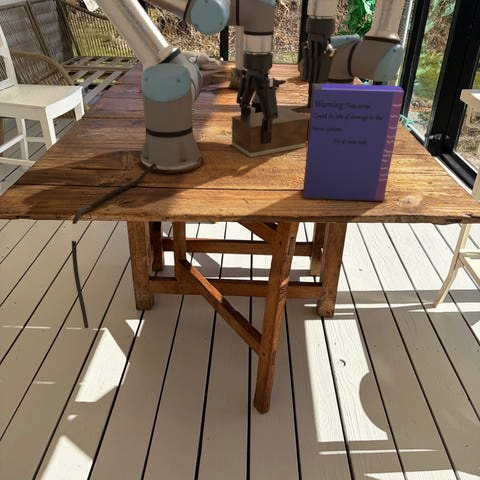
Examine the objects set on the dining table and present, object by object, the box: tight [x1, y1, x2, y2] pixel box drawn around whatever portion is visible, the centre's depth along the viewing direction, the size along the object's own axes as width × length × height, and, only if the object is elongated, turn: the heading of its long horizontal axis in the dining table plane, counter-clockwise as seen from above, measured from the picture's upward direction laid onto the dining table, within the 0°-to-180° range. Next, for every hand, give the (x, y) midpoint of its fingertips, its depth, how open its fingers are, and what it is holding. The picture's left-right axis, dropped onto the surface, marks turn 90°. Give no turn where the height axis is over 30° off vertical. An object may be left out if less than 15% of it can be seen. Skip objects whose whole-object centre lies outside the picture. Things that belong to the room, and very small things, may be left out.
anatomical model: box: [297, 58, 308, 82], centre depth 207 cm, size 13×9×15 cm
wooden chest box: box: [231, 108, 308, 158], centre depth 133 cm, size 18×11×8 cm, turn 119°
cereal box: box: [302, 84, 405, 202], centre depth 102 cm, size 17×5×24 cm, turn 86°
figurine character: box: [250, 92, 262, 114], centre depth 154 cm, size 7×8×15 cm
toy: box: [181, 50, 222, 69], centre depth 224 cm, size 24×25×7 cm
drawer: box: [293, 110, 310, 142], centre depth 136 cm, size 23×9×6 cm, turn 119°
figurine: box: [209, 66, 287, 89], centre depth 190 cm, size 24×8×30 cm
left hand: (255, 136), depth 132 cm, fingers closed on wooden chest box, 11 cm apart
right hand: (312, 107), depth 136 cm, fingers closed
